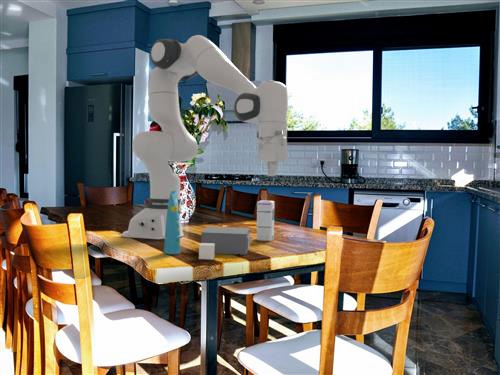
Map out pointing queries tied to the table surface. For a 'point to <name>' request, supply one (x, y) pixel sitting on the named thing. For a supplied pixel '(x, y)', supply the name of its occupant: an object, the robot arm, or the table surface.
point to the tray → (248, 241)
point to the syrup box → (265, 220)
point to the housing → (226, 239)
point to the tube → (172, 226)
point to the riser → (207, 251)
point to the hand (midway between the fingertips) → (271, 176)
